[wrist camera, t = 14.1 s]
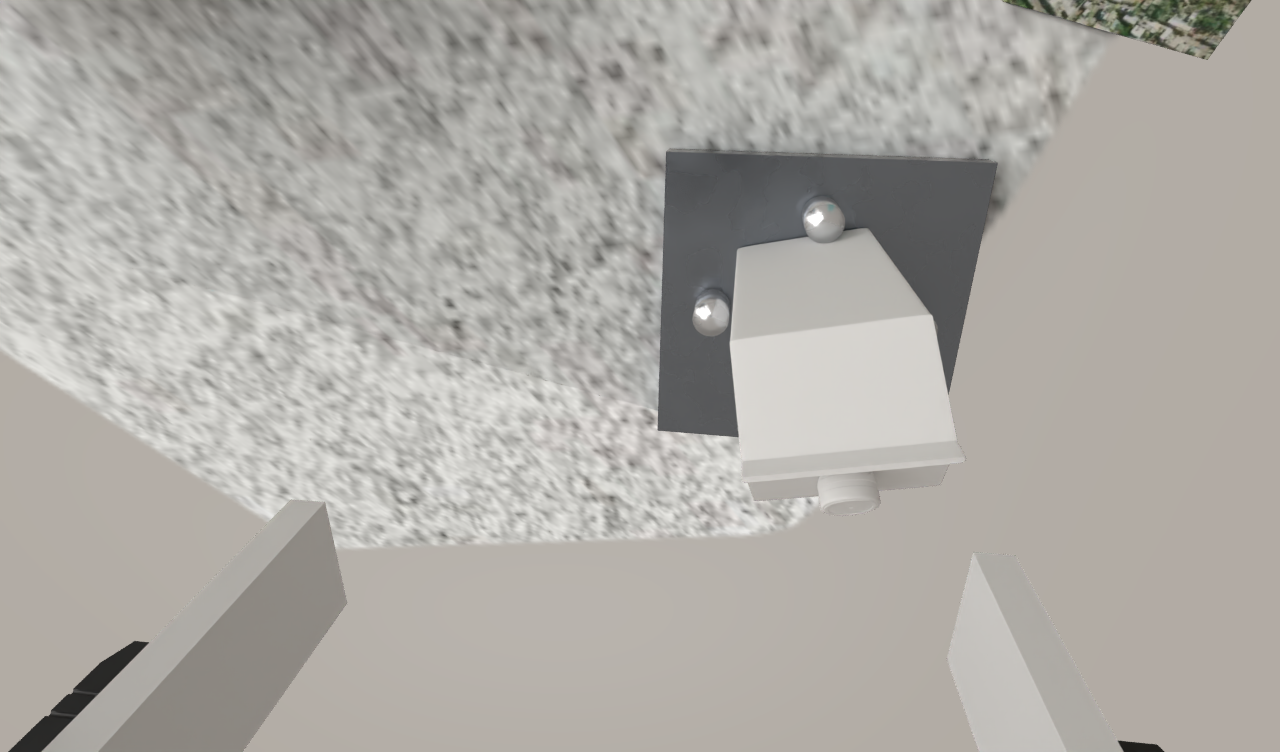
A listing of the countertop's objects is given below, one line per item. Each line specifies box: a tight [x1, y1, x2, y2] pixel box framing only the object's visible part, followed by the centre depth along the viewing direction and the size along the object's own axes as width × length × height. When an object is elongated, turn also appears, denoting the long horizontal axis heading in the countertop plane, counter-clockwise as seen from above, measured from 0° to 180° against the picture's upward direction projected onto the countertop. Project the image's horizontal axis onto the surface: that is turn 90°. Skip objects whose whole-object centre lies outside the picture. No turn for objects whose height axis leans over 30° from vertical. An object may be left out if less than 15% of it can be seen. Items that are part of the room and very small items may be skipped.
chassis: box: [658, 149, 997, 437], centre depth 40 cm, size 17×17×4 cm
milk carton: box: [730, 228, 966, 516], centre depth 32 cm, size 7×7×19 cm
